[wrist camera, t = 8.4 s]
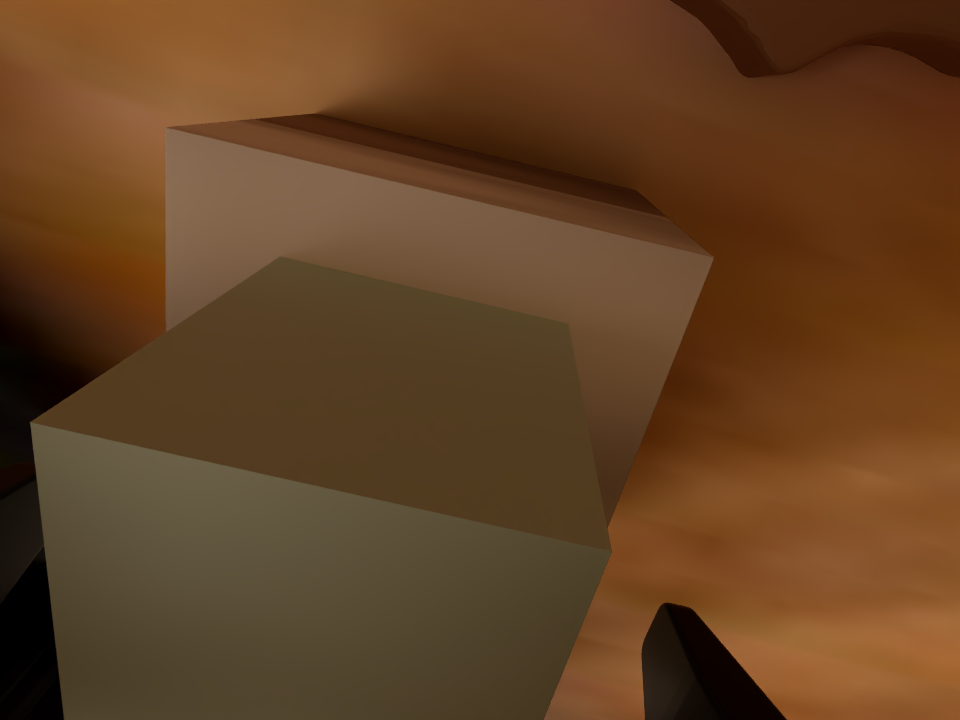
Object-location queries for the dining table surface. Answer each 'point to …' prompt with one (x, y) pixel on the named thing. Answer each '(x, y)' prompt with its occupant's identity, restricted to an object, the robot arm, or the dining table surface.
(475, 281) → the beige block
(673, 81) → the dining table surface
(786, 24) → the plant
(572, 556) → the sage brick
